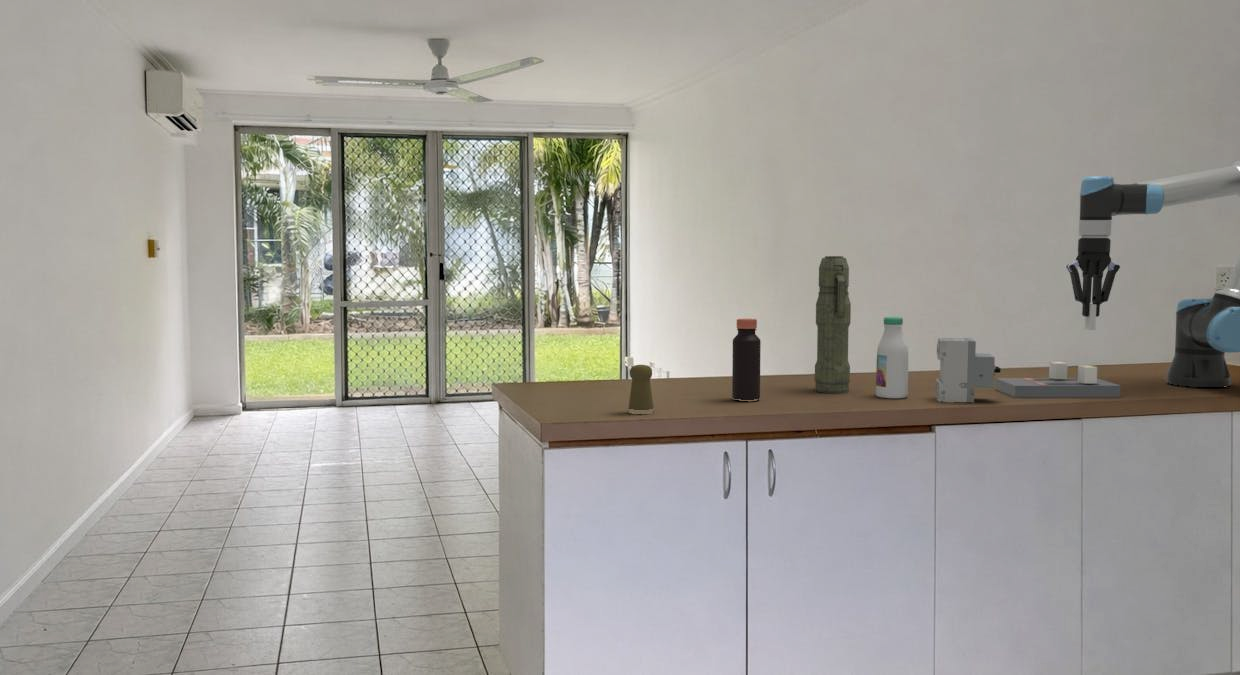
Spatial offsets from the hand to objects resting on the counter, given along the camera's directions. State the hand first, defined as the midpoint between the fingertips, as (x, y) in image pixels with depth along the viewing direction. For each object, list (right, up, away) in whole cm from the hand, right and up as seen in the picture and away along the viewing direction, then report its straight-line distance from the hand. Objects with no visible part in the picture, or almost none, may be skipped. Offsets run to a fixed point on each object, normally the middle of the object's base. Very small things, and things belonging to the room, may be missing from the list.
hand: (1090, 329), depth 264 cm
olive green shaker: (-116, -20, -29) cm, 121 cm away
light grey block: (-8, -13, +1) cm, 15 cm away
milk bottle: (-53, -17, -7) cm, 56 cm away
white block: (-4, -13, -7) cm, 15 cm away
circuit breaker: (-36, -18, -13) cm, 42 cm away
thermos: (-66, -16, +4) cm, 68 cm away
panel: (-10, -16, -2) cm, 19 cm away
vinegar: (-90, -18, -11) cm, 92 cm away
